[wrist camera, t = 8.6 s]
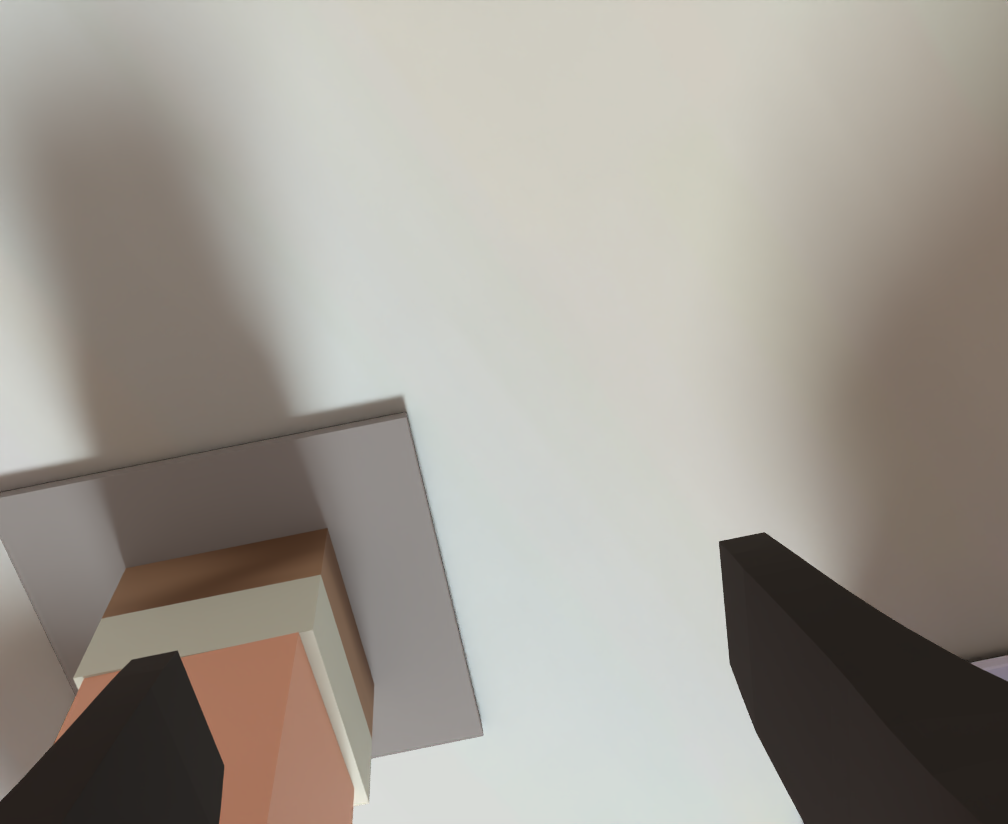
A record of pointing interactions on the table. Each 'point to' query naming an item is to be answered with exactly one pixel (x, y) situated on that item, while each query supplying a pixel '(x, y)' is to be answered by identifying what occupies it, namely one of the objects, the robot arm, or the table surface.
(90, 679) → the block
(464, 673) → the coaster
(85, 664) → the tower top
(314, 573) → the tower base
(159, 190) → the table surface
